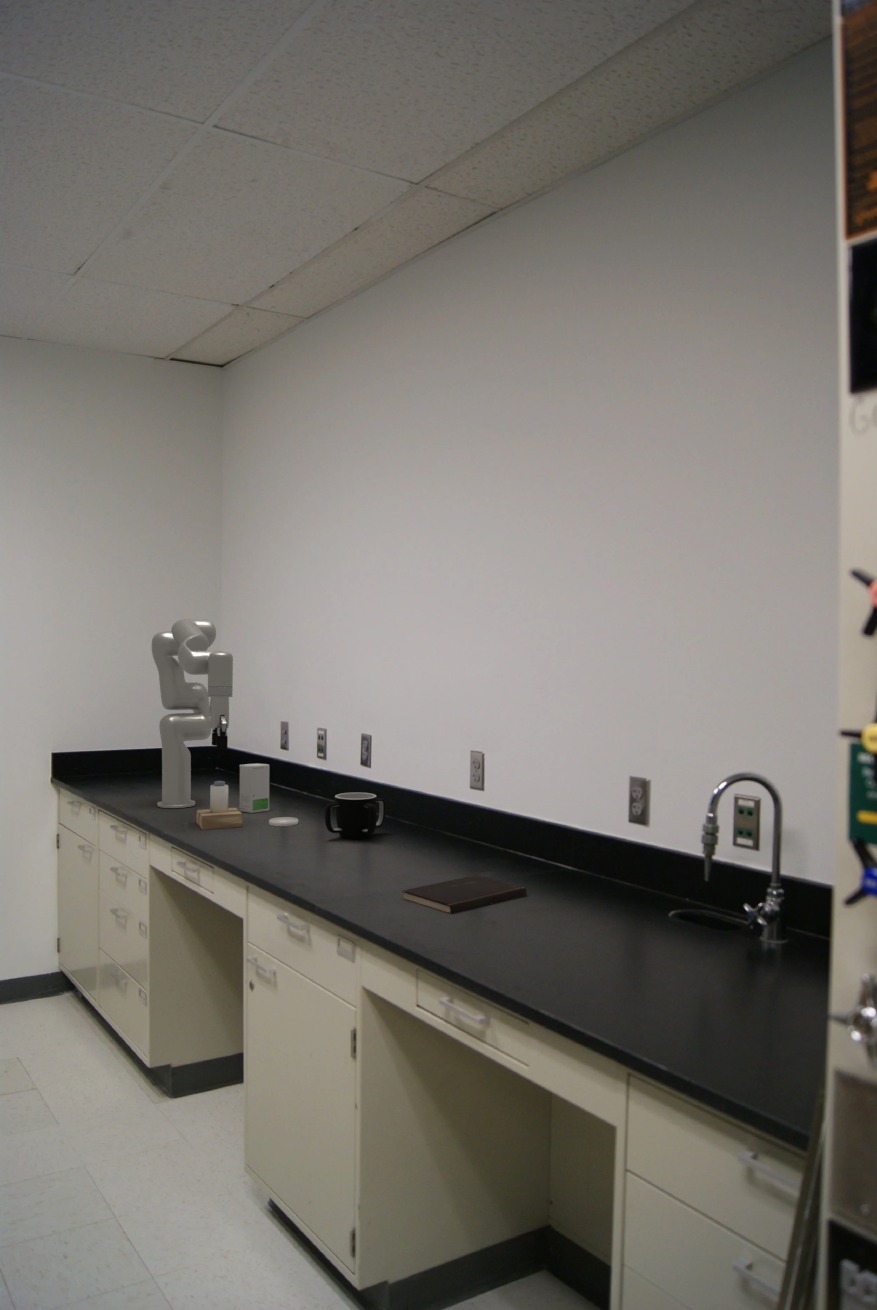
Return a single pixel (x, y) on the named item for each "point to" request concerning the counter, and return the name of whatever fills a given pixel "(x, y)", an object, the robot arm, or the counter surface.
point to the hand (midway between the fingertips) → (219, 747)
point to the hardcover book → (464, 893)
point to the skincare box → (254, 788)
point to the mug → (355, 815)
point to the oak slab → (219, 819)
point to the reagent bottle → (219, 797)
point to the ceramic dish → (283, 821)
